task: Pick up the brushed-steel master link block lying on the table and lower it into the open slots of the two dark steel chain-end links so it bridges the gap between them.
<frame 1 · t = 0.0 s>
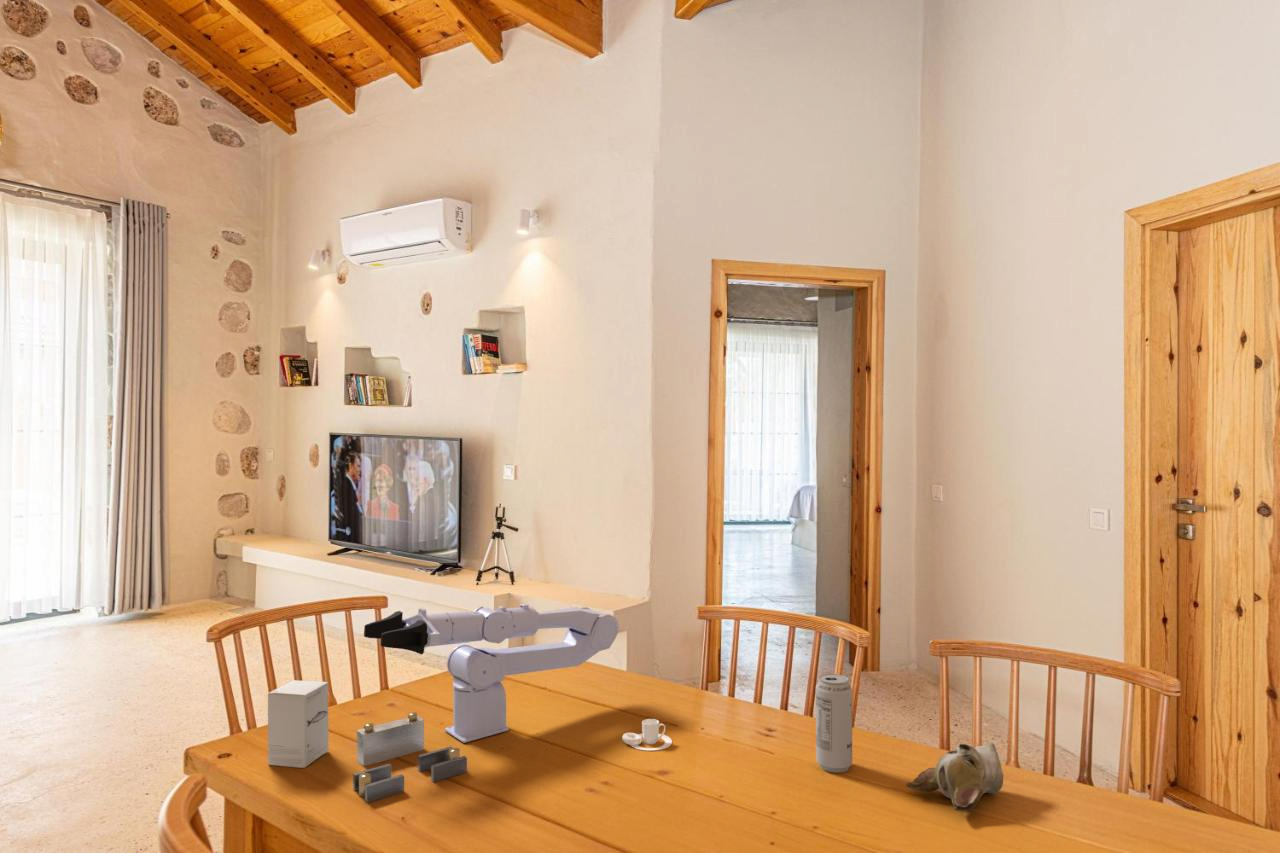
hand: (373, 635, 143), 22 cm above the table, fingers open, 7 cm apart
supplement box: (299, 759, 144), on the table
master link: (391, 755, 145), on the table
ceramic sculpture: (962, 800, 128), on the table
end link 2: (442, 771, 138), on the table
energy drink can: (834, 767, 139), on the table
end link 1: (378, 790, 131), on the table
teacup and saucer: (640, 740, 153), on the table
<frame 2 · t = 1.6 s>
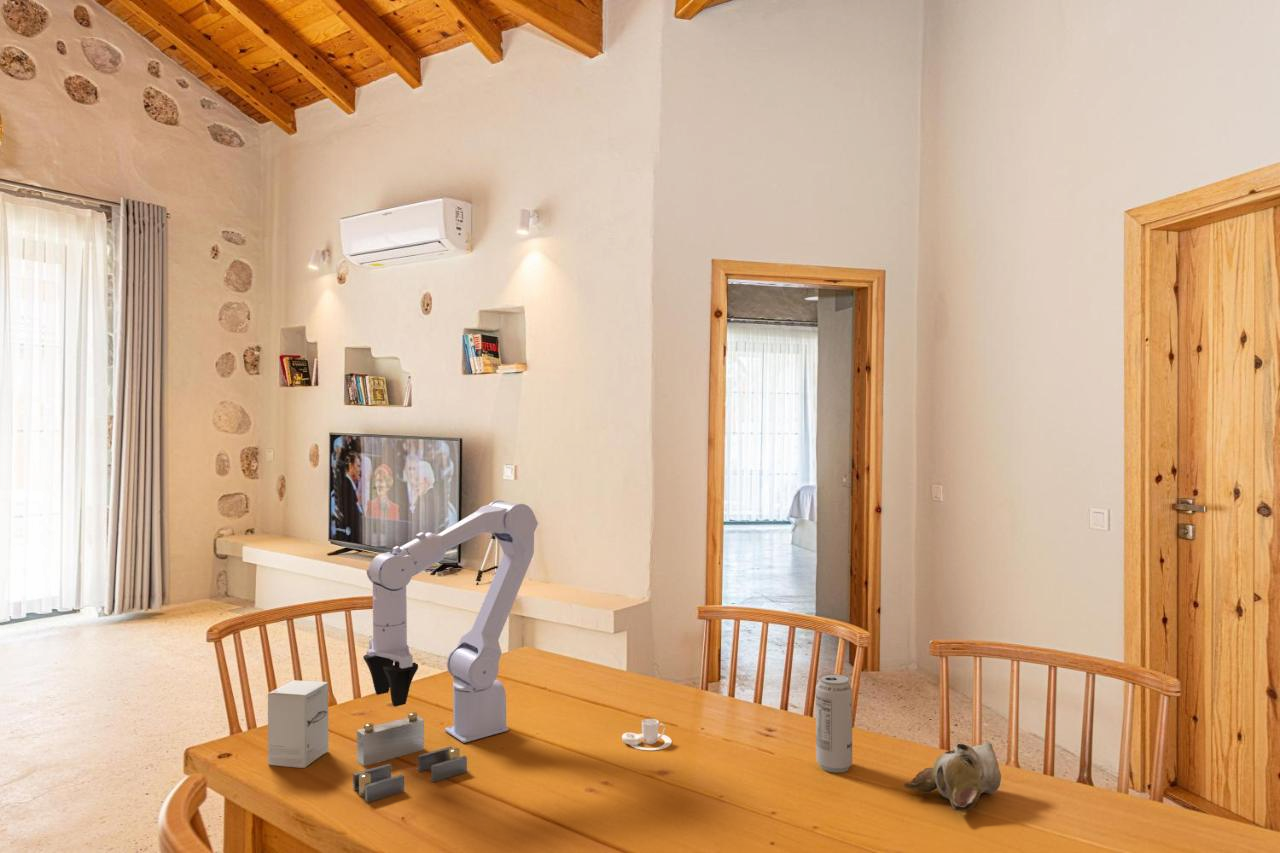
hand: (390, 699, 145), 10 cm above the table, fingers open, 7 cm apart
nothing on the table moved.
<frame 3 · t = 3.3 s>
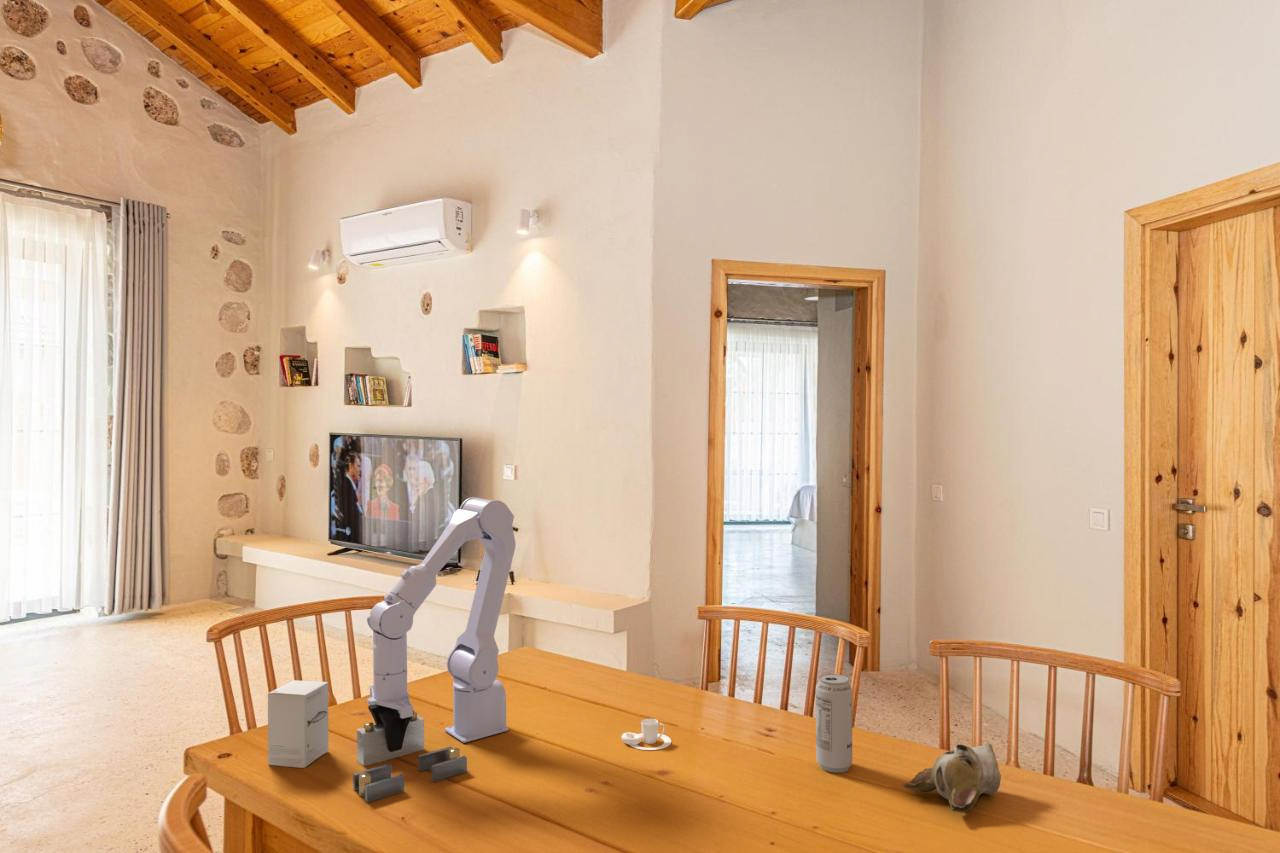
hand: (391, 746, 145), 1 cm above the table, fingers closed on master link, 3 cm apart
master link: (391, 755, 145), on the table, touching gripper
everything else where it was.
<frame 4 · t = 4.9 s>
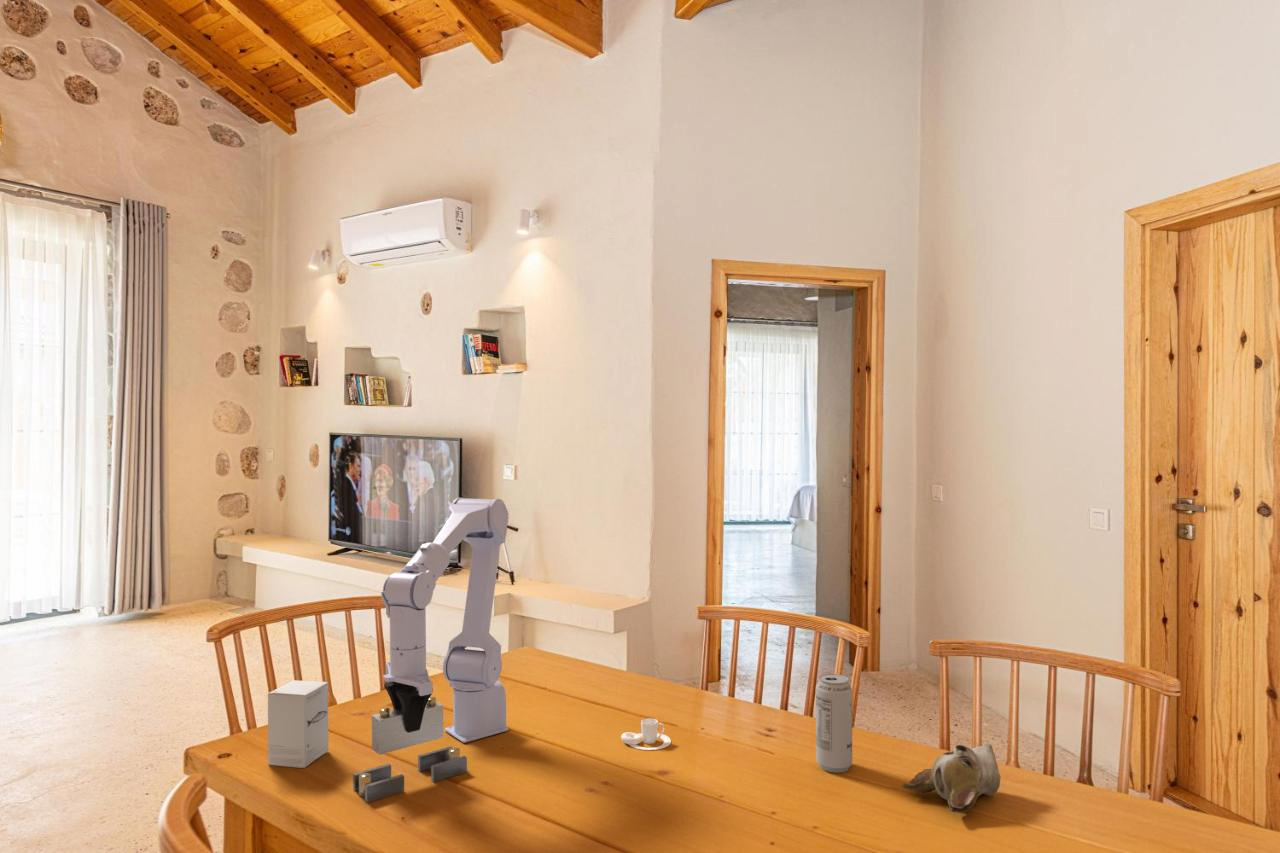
hand: (408, 727, 135), 8 cm above the table, fingers closed on master link, 3 cm apart
master link: (408, 743, 135), point 6 cm above the table, touching gripper
everything else where it was.
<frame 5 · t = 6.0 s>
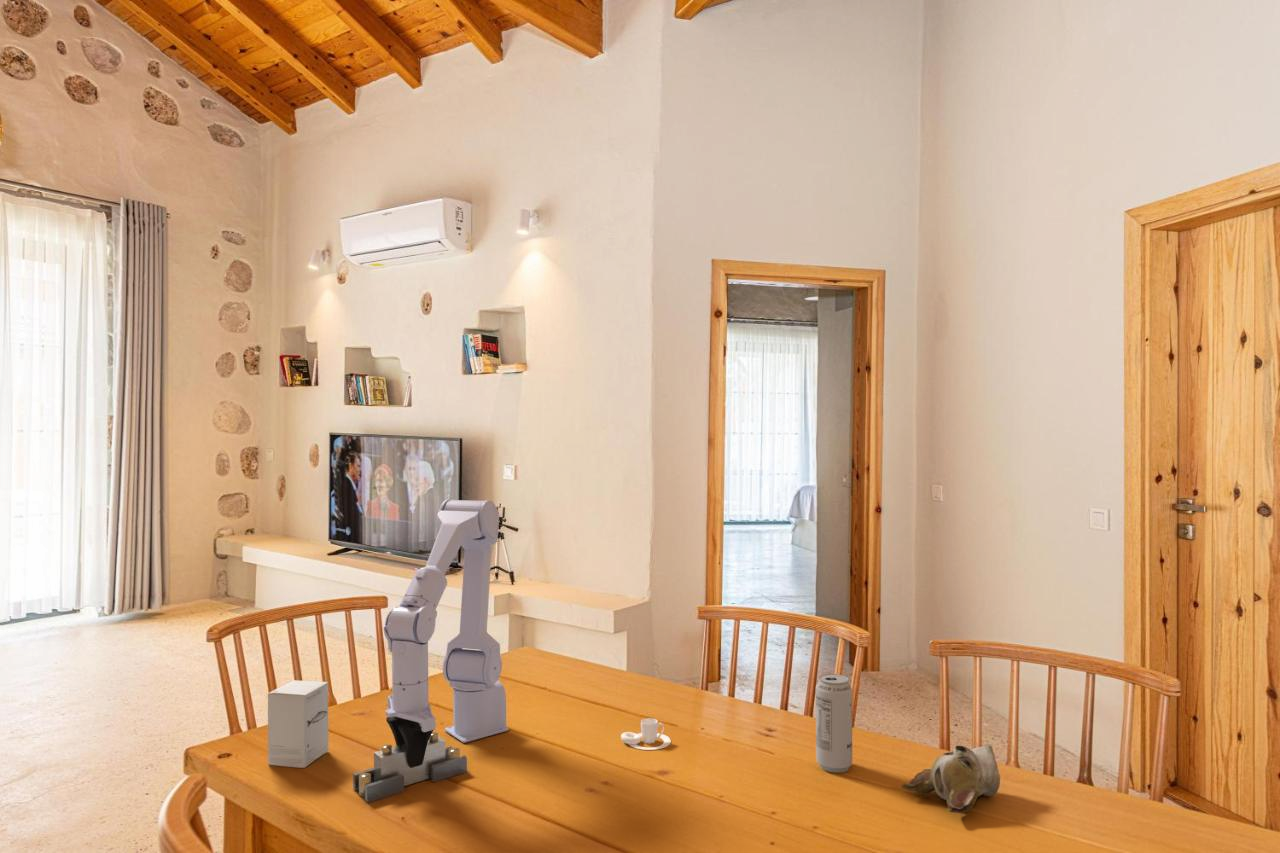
hand: (411, 762, 135), 3 cm above the table, fingers closed on master link, 3 cm apart
master link: (410, 779, 135), on the table, touching gripper
everything else where it was.
when the fingers open (3 cm above the table, at t = 6.8 s): master link stays where it is, on the table.
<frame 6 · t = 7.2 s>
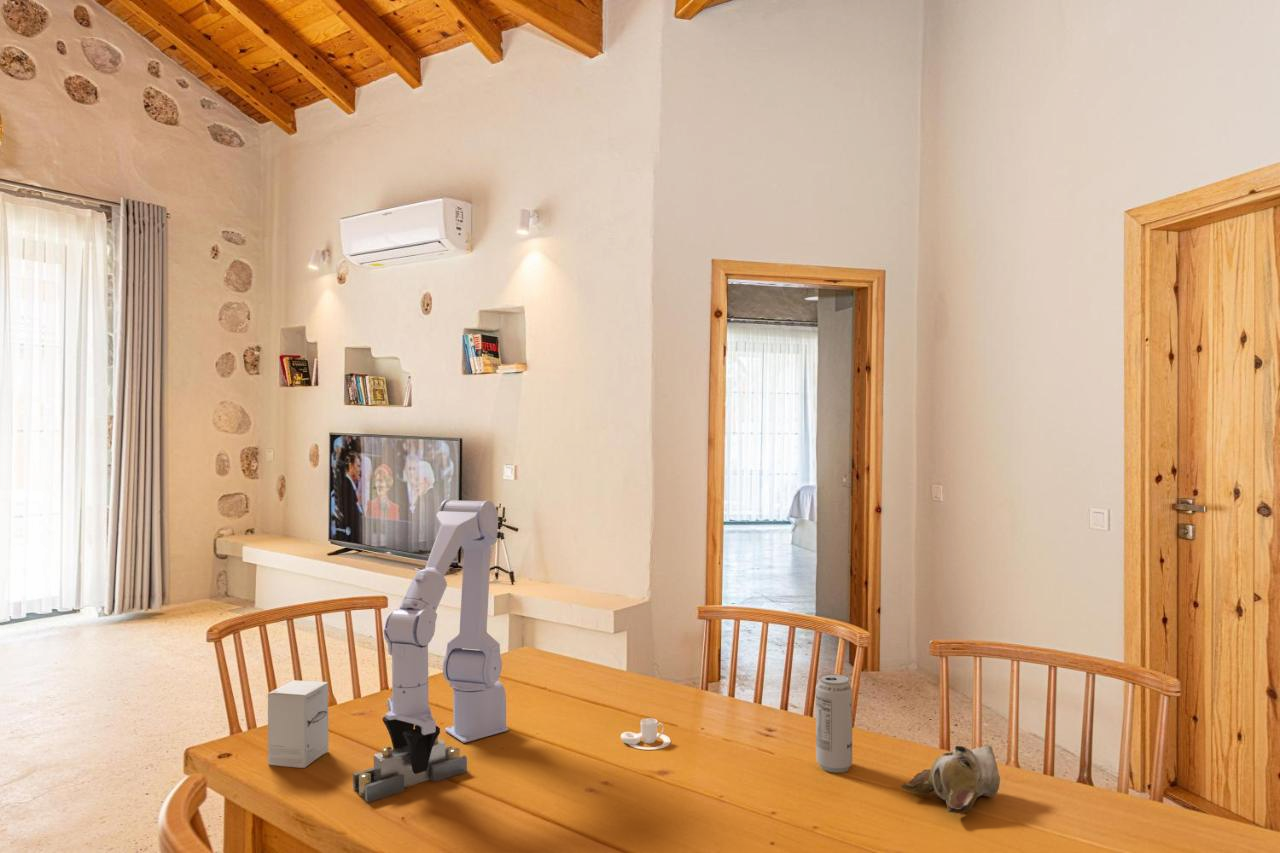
hand: (411, 764, 135), 3 cm above the table, fingers open, 6 cm apart
master link: (410, 781, 135), on the table
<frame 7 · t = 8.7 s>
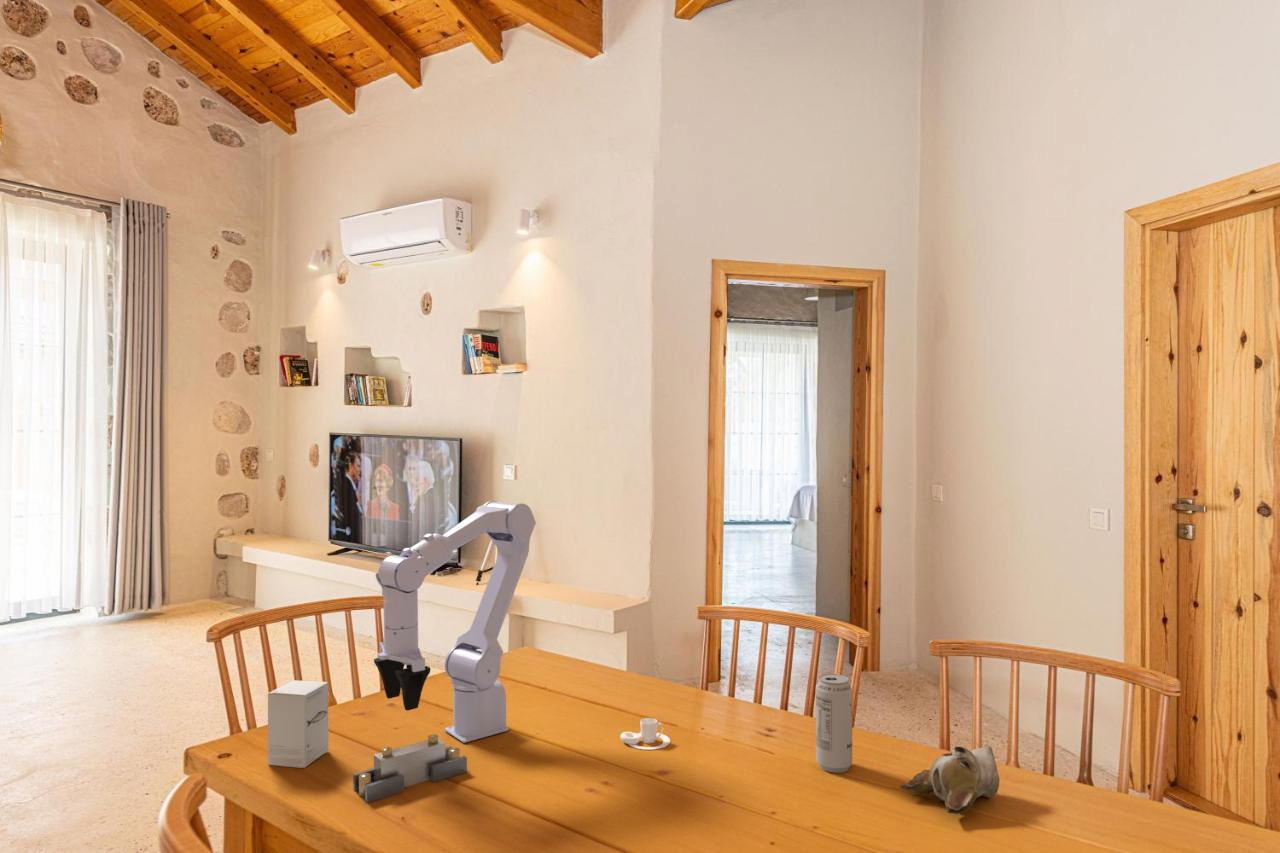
hand: (402, 702, 143), 10 cm above the table, fingers open, 7 cm apart
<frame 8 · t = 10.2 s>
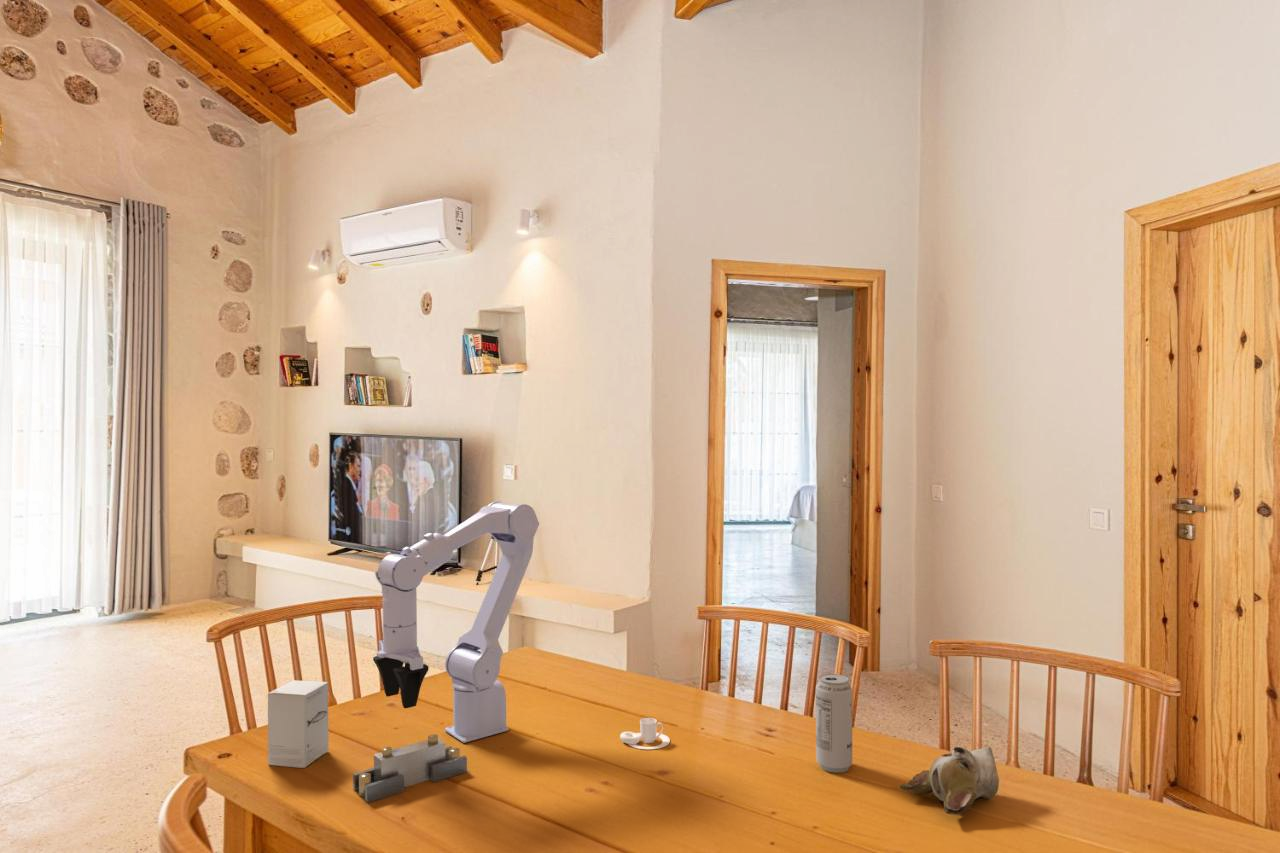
hand: (400, 700, 144), 10 cm above the table, fingers open, 7 cm apart
at the end: master link 0.1 cm from the target spot, on the table; master link tilted 0°; the gripper is holding nothing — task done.
